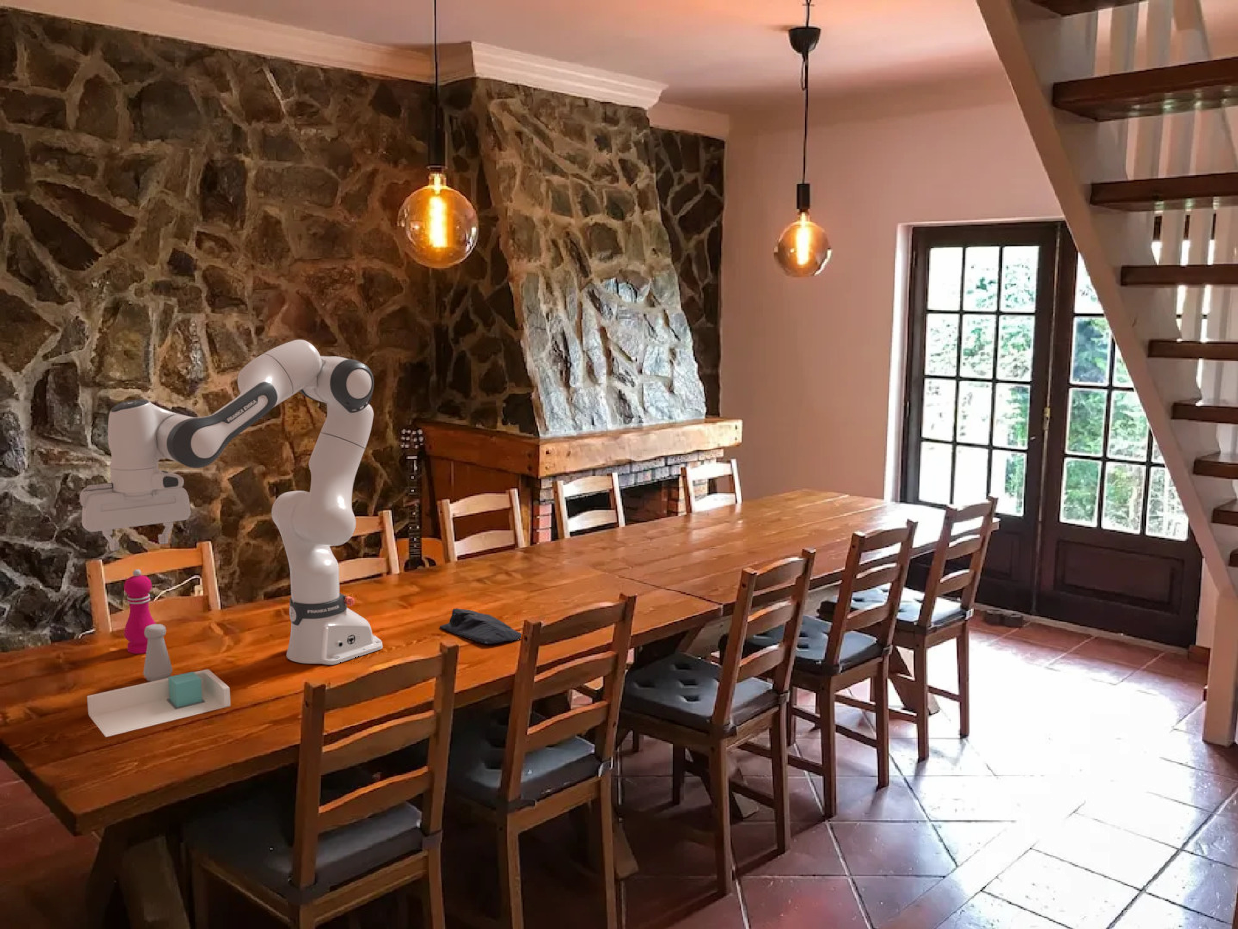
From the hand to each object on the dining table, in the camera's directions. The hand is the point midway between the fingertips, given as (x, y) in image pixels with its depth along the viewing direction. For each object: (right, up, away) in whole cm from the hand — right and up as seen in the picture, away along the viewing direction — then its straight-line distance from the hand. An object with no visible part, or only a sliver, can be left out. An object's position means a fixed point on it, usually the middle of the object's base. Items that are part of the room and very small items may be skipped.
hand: (139, 546), depth 210 cm
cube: (+7, -33, +5) cm, 34 cm away
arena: (+4, -35, 0) cm, 35 cm away
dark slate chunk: (+64, -27, +54) cm, 87 cm away
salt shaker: (-4, -32, +18) cm, 36 cm away
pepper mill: (-17, -28, +37) cm, 49 cm away
